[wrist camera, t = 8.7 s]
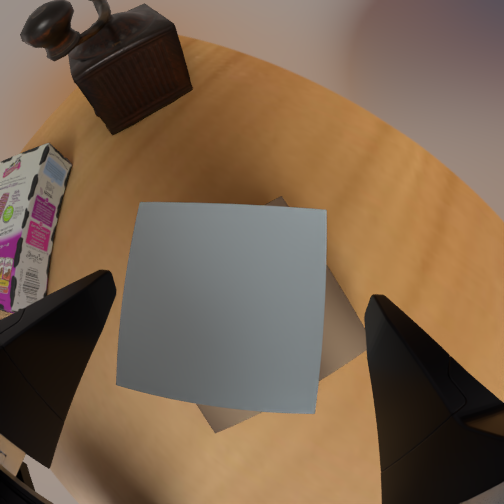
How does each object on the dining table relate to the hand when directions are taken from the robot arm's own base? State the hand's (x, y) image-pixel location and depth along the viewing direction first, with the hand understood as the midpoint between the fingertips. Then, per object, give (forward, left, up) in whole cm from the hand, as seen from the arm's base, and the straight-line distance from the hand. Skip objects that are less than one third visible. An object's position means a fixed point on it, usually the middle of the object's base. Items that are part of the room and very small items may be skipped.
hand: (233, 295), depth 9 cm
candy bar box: (-23, +11, -9) cm, 27 cm away
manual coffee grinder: (0, +25, -12) cm, 28 cm away
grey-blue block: (0, 0, -8) cm, 8 cm away
